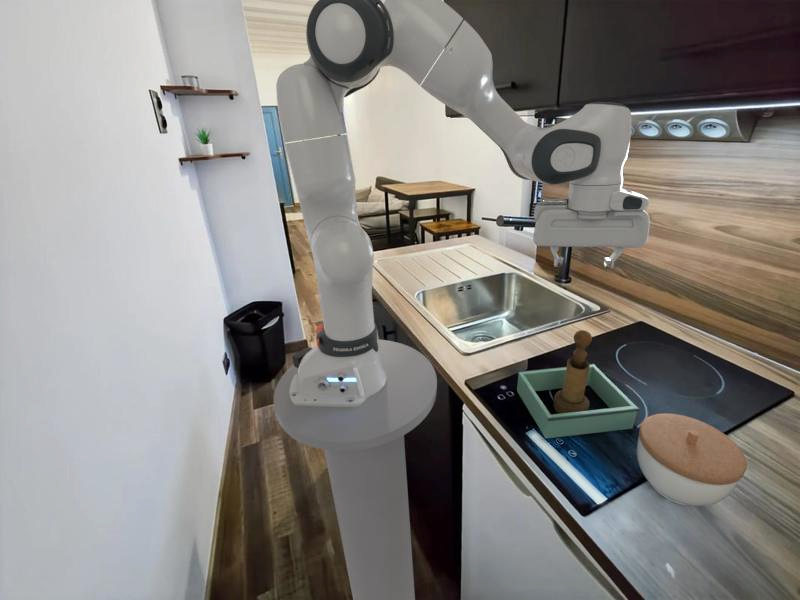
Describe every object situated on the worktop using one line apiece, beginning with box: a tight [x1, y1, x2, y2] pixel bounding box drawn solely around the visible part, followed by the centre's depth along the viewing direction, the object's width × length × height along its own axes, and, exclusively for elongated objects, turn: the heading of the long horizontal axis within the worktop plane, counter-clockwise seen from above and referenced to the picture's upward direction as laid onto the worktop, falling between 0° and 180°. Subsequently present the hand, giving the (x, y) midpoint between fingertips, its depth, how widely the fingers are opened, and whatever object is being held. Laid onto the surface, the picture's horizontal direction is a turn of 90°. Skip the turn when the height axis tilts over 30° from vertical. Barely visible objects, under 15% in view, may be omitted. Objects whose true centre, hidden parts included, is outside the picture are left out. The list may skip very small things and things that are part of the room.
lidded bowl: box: [636, 412, 748, 507], centre depth 55 cm, size 13×13×11 cm
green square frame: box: [516, 363, 640, 439], centre depth 73 cm, size 17×14×5 cm
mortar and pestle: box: [552, 329, 593, 414], centre depth 71 cm, size 7×6×18 cm
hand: (582, 266), depth 75 cm, fingers open, 8 cm apart
